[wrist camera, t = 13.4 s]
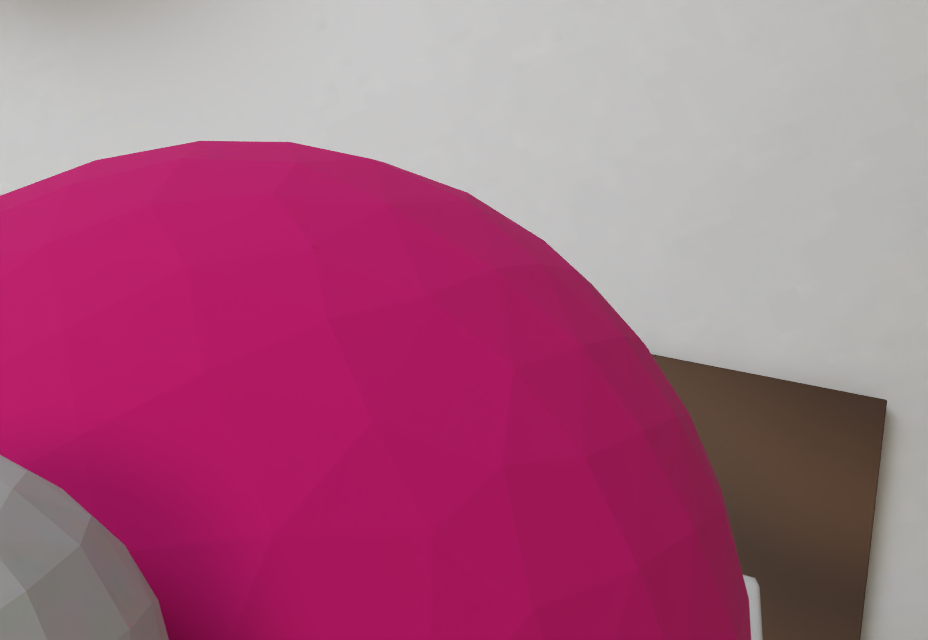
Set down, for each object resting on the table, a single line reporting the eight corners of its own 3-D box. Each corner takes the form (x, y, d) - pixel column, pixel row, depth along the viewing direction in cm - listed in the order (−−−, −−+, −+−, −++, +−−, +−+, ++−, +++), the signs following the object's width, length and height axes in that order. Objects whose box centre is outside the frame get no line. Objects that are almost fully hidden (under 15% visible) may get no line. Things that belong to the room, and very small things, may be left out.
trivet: (840, 765, 30) (846, 769, 30) (477, 671, 32) (476, 674, 32) (881, 401, 33) (887, 399, 32) (545, 336, 35) (545, 333, 34)
